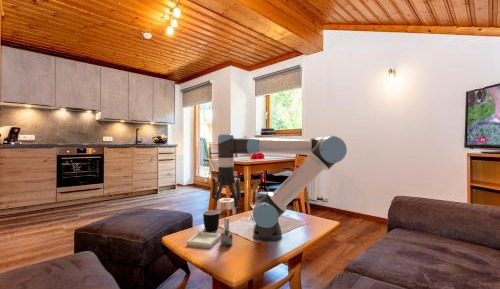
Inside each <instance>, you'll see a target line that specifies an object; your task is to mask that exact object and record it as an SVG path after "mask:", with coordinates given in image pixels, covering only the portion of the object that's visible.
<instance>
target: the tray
mask: <svg viewBox="0 0 500 289" xmlns="http://www.w3.org/2000/svg"><path fill="white" fill-rule="evenodd" d="M221 234H222V233H216V232H207V231H198V232H196V233H195V234H194V235H192V236H191V237H190V238H189V239H187V241H186V246H187V247H194V248H195V247H196V248H205V249H212V248H213V247H214V246H215V245H216V243H218V242H219V241H221Z"/></svg>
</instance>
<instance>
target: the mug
mask: <svg viewBox="0 0 500 289" xmlns="http://www.w3.org/2000/svg"><path fill="white" fill-rule="evenodd" d="M202 218H203V226H204V230H205V232H208V233H216V232H217V231H218V228H219V225H220V213H219V214H218V210H215V209H211V210H210V209H209V210H205V211H204V212H203V214H202Z"/></svg>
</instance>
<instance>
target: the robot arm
mask: <svg viewBox="0 0 500 289" xmlns="http://www.w3.org/2000/svg"><path fill="white" fill-rule="evenodd" d="M347 151H348V148H347V145H346V143H345V141H344V140H343V139H342V138H341V137H338V136H336V135H328V136H322V137H309V139H287V138H256V137H246V138H245V137H244V138H243V137H240V138H237V137H234V134H233V133H229V134H227V133H226V134H225V133H223V134H222V133H221V134H219V135H218V137H217V158H218V159H217V161H218V162H217V164H218V167H217V170H218V172H217V173H218V175H217V177H213V178H212V179H211V180H212V192H211V193H212V194H211V198H212V199H214V200H215V206H216V207H217V201H218V200H220V199H221V194H222V192H223V189H224V186H227V187H228V188H229V191H230V193H231V195H232V196H231V197H232V198H233V199H234V200H233V201H232V203H233V208H232V216H235V215H236V214H237V208H238V206H239V205H238V204H239V203H238V201H239V200H242V191H241V184H240V183H241V178H238V177H235V167H234V165H235V160H234V159H235V156H234V155H237V154H239V155H248V154H249V155H253V154H254V155H256V154H258V153H261V154H281V155H282V154H285V155H307V156H308V158H306V159H305V160H304V161H303V162H302V163H301V164H300V165H299V166H298V167H297V168H296V169H295V170H294V171H293V172H292V173H291V174H290V175H289V176H288V177H287V178H286V179H285V180H284V181H283V182H282V183H281V184H280V185H279V186H278V187H276V189H275V190H274V191H260V192H257V193H256V196H255V200H256V201H255V202H256V203H255V205H254V208H253V210H252V217H253V221H254V222H255V224H254V228H253V232H252V234H253V235H252V236H253V237H254V239H256V238H257V239H256V240H258V239H259V241H263V242H274V241H277V240H280V239H281V238H282V237H283V236H282V235H283V232H282V228H281V225H280V221H279V218H280V217H281V216H282V215H283V214H284V213H285V212H287V206H288V205H289V203H291V202H292V201H293V200H294V199H295V198H296V197H297V196H298V195H299V194H300V193H301V192H302V191H303V190H304V189H306V187H307V186H308V185H310V183H312V182H313V181H314V179H316V178H317V177H318V176H319V175H320V174H321V173H322V171H326V170H327V171H328V170H330V169H331V168H333V166H334V165H335V164H336V163H340V162H341V161H343V160H344V158H345V157H346V155H347ZM218 182H219V186H218ZM234 183H235V187H234ZM217 188H218V189H217ZM217 211H218V214H219V215H220V214H221V212H222V210H221V209H218V208H217Z"/></svg>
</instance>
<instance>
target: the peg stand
mask: <svg viewBox="0 0 500 289" xmlns="http://www.w3.org/2000/svg"><path fill="white" fill-rule="evenodd" d="M223 221H224V222H223V223H224V225H223V226H224V228H223V230H224V232H221V233H220V234H221V239H220V246H221V247H223V248H229V247H232V246H233V233H232V232H230V226H229V225H230V218H229V217H226V216H225V217H224V219H223Z"/></svg>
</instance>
